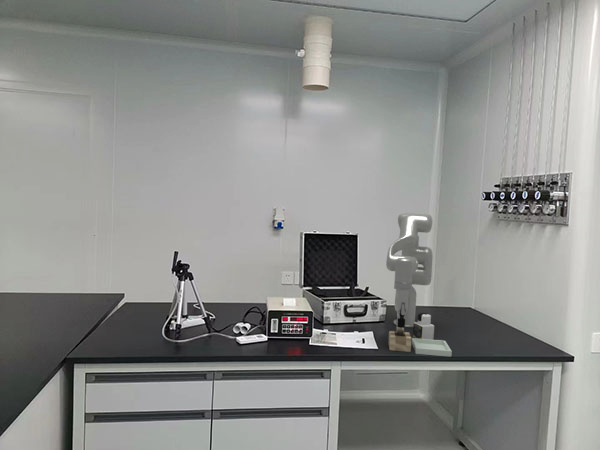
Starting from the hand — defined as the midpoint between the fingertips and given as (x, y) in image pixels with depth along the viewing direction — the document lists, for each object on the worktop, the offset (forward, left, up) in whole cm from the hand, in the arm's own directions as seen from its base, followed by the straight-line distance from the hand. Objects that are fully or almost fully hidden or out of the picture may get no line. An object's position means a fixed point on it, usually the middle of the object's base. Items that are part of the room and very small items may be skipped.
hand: (400, 325), depth 203 cm
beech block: (0, 0, -10) cm, 10 cm away
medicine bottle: (-18, +13, -10) cm, 25 cm away
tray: (-1, +14, -10) cm, 17 cm away
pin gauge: (0, 0, -4) cm, 4 cm away
